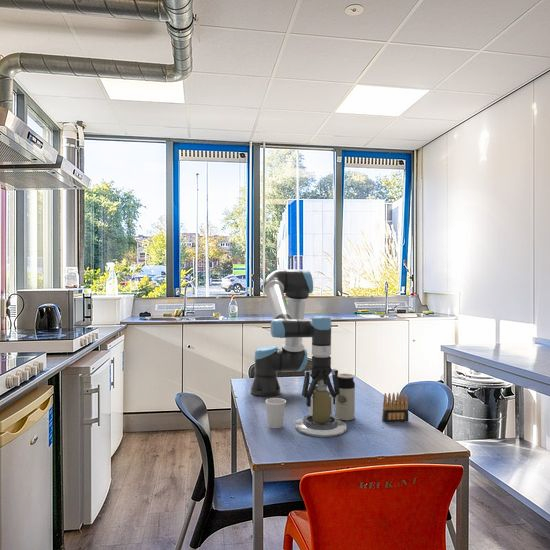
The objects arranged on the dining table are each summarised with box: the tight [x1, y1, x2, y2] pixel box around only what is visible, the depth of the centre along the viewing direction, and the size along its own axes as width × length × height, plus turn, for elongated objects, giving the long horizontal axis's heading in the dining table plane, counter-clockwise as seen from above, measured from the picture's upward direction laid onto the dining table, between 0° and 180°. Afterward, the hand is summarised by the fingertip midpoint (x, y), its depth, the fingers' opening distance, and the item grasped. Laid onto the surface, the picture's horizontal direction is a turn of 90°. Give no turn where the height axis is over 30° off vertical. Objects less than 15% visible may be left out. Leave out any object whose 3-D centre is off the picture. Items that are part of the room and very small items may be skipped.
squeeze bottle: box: [311, 379, 332, 424], centre depth 172 cm, size 8×8×18 cm
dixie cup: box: [265, 397, 287, 429], centre depth 174 cm, size 8×8×10 cm
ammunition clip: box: [381, 392, 410, 423], centre depth 181 cm, size 11×2×12 cm, turn 97°
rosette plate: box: [294, 414, 347, 438], centre depth 172 cm, size 20×20×4 cm
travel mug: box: [335, 372, 356, 421], centre depth 185 cm, size 8×8×18 cm
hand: (320, 413), depth 172 cm, fingers closed on squeeze bottle, 8 cm apart
